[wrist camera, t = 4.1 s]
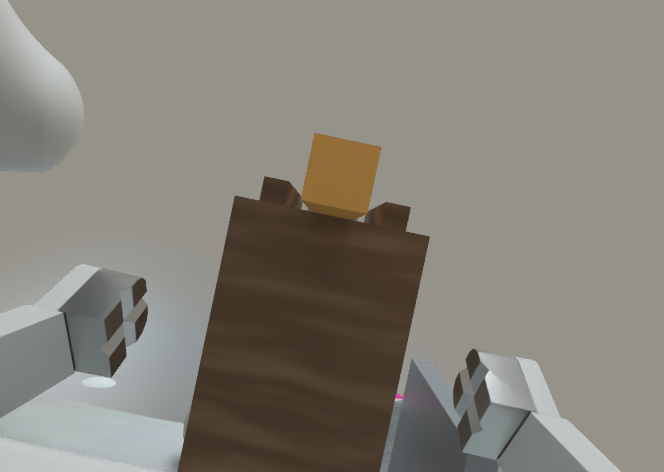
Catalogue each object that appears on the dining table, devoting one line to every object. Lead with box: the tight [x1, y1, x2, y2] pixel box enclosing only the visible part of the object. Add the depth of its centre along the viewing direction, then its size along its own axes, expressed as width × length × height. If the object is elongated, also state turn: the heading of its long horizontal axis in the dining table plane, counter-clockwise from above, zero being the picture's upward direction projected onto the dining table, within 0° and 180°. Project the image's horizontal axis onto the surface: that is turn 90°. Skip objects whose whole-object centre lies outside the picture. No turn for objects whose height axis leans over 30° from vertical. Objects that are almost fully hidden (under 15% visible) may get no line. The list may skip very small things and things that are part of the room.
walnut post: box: [178, 177, 430, 472], centre depth 33 cm, size 14×12×32 cm
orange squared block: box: [301, 133, 381, 221], centre depth 27 cm, size 22×4×4 cm, turn 0°
